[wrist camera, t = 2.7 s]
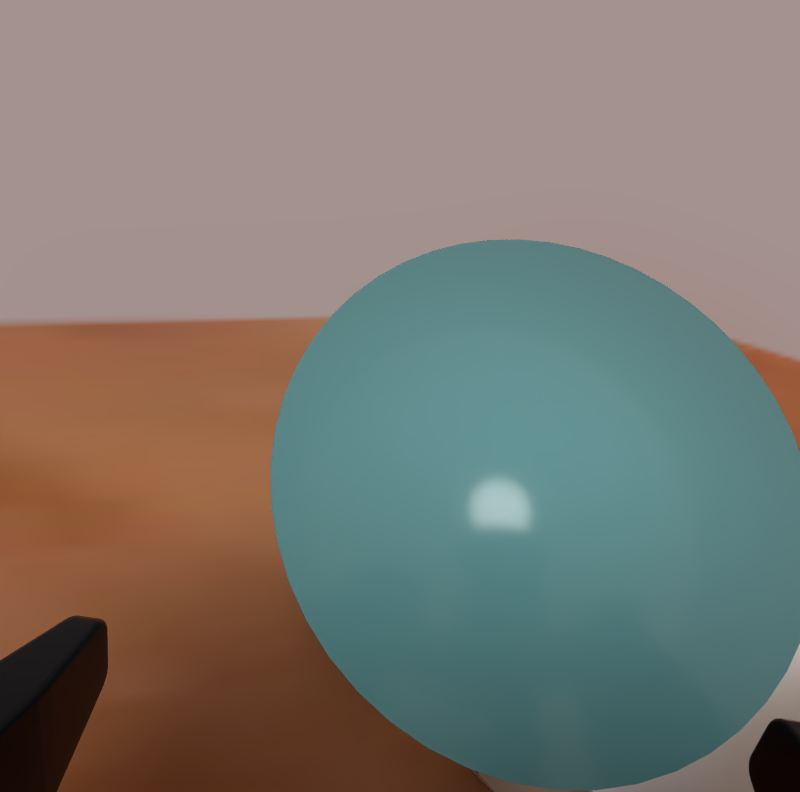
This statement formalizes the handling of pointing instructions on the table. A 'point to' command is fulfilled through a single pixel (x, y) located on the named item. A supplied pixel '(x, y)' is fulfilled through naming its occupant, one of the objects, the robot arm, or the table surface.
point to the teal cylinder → (541, 514)
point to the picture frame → (716, 772)
